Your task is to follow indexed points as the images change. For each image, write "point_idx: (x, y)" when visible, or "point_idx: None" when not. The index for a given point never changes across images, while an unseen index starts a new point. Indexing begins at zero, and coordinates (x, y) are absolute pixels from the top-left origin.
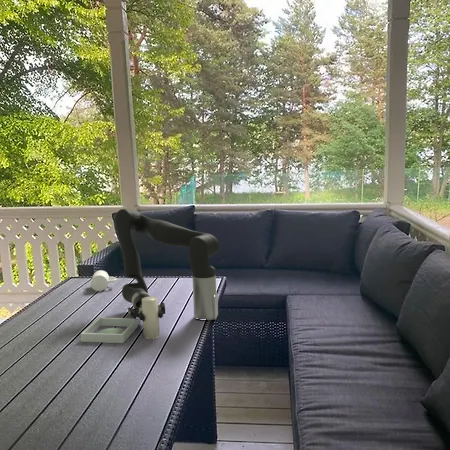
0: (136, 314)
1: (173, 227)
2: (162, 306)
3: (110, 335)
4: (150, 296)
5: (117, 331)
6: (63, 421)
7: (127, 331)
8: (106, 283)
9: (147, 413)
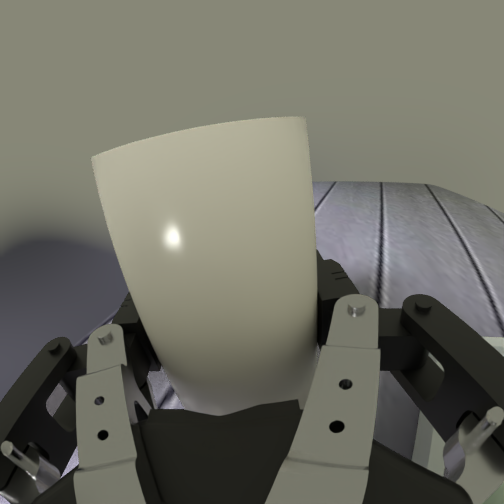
0: (388, 317)
1: None
2: (43, 371)
3: (496, 340)
4: (130, 144)
5: (501, 491)
6: (398, 191)
7: None
8: None
9: None
